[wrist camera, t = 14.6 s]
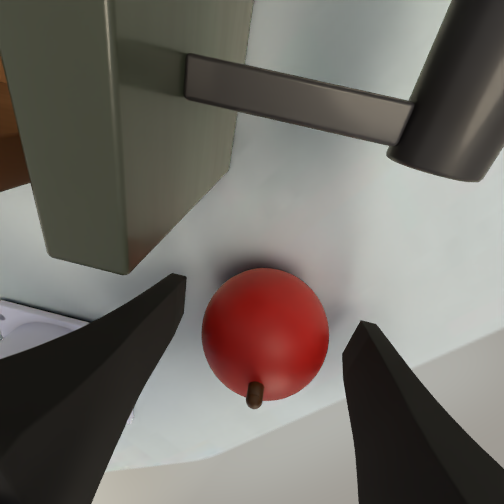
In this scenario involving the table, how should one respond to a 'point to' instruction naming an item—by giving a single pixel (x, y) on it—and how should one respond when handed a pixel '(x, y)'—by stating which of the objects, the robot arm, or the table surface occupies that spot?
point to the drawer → (203, 111)
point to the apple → (265, 335)
